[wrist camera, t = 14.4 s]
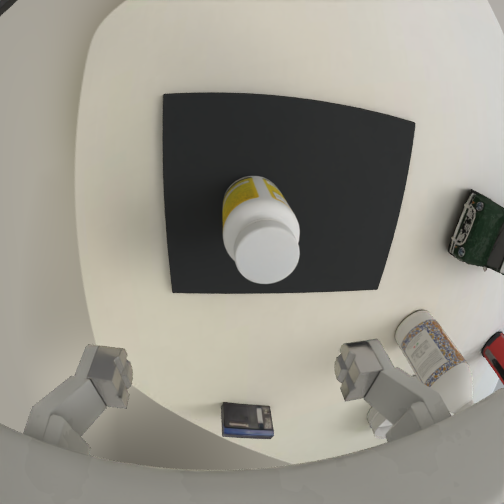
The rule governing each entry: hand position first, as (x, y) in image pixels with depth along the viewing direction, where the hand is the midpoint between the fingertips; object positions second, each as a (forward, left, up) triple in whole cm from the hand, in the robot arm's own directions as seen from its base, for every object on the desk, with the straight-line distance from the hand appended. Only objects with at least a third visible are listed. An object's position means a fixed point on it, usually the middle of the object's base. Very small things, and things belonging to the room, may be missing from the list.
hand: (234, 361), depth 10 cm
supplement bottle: (+2, 0, -18) cm, 18 cm away
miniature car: (+36, -1, -19) cm, 41 cm away
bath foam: (+28, -18, -19) cm, 38 cm away
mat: (+6, 0, -18) cm, 19 cm away
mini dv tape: (+3, -35, -19) cm, 40 cm away
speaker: (+63, -30, -19) cm, 72 cm away
